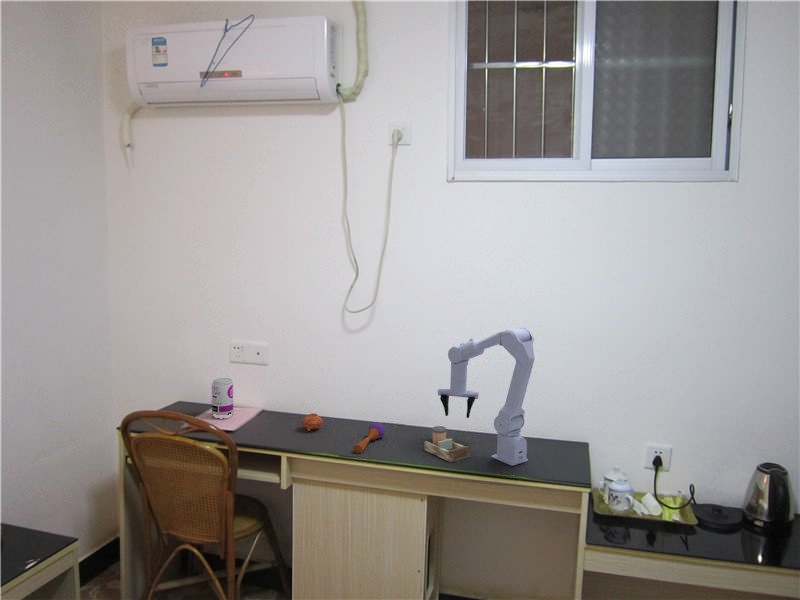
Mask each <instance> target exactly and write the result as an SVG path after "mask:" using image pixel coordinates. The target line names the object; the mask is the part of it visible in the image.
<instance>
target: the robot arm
mask: <svg viewBox="0 0 800 600" xmlns="http://www.w3.org/2000/svg"><path fill="white" fill-rule="evenodd" d="M534 341H535V338H534V336H533V335H532V332H531V331H530V330H529V329H527V328H526V327H520V328H516V329H511V330H509V329H508V330H504V331H500V332H496V333H495V334H493V335H492V334H491V335H490V336H488V337H485V338H484V339H480V338H475V337H472V338H470V339H469V341H468V342H465V343H464V342H462V343H460V344H459V345H458V346H451V348H449V349H448V352H447V357H448V360H449V362H450V384H449V385H450V387H449V388H438V389H437V396H438V397H439V396H440V398H439V399H440V401H441V404H442V406H443V409H444V413H445V417H448V416H449V403H450V402H449V401H450V398H449V397H458V398H467V399H466V404H467V405H466V419H470V414H471V410H472V408H473V404H474V402H475V400H479V395H480V394H479V392H476V391H472V390H471V391H470V390H467V381H468V380H467V379H468V378H467V377H468V376H467V374H468V366H469V361H470V359H473V358H476V357H479V356H481V355H483V354H484V352H485V350H486V349H489V348H492V347H494V346H497V345H498V346H500V347H503V348H504V349H505V350H506V351H507V352H508V353H509V354H510V355H511V356H512V357H513V359H515V363H514V364H515V365H514V369H513V372H512V376H511V380H510V384H509V387H508V392H507V395H506V398H505V403H504V405H502V407H501V408H500V409H499V412H498V414H497V415H496V417H495V418H494V421H493V426H494V429H495V430H496V433H497V447H496V449H497V450H496V453H495V454H493V455H491V458H493V459H495V460H498V461H500V462H502V463H504V464H507V465H509V466H512V467H513V466H517V465H519V464H522V463H526V462H528V460H529V459H528V458H527V452H528V451H527V450H528V441H527V440H526V438H525V437H523V436H522V435H521V429H523V427H524V425H525V422H526V421H525V413H526V412H525V409H523V403H524V399H525V397H526V396H525V395H526V392H527V389H528V385H529V381H530V377H531V373H532V370H533V367H534V363H535V353H534V345H533V344H534Z"/></svg>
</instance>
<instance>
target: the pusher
mask: <svg viewBox="0 0 800 600" xmlns="http://www.w3.org/2000/svg"><path fill="white" fill-rule="evenodd" d="M452 441H453V438H450V437H449V438H446V440H442V441H438V446H439V447H441V448H443V449H446V450H448V449H452Z"/></svg>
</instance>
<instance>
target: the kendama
mask: <svg viewBox="0 0 800 600" xmlns="http://www.w3.org/2000/svg"><path fill="white" fill-rule="evenodd" d="M385 433H386V428H385V425H383V423H381V422H377V421H376V422H373V423H371V424H370V425H369V427H368V431H367V437H366V438H364V439H362V440H361V441H359V442H358V443H356V444H355V445H353V452H354V453H355V452H357V453H356V454H360V453H361V454H362V453H363V451H364V450H365V448H366V447H367V446H368V444H369V442H370V441H371V440H377V439H378V440H379V439H381V438H382V437H383V436H384V435H385Z"/></svg>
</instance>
